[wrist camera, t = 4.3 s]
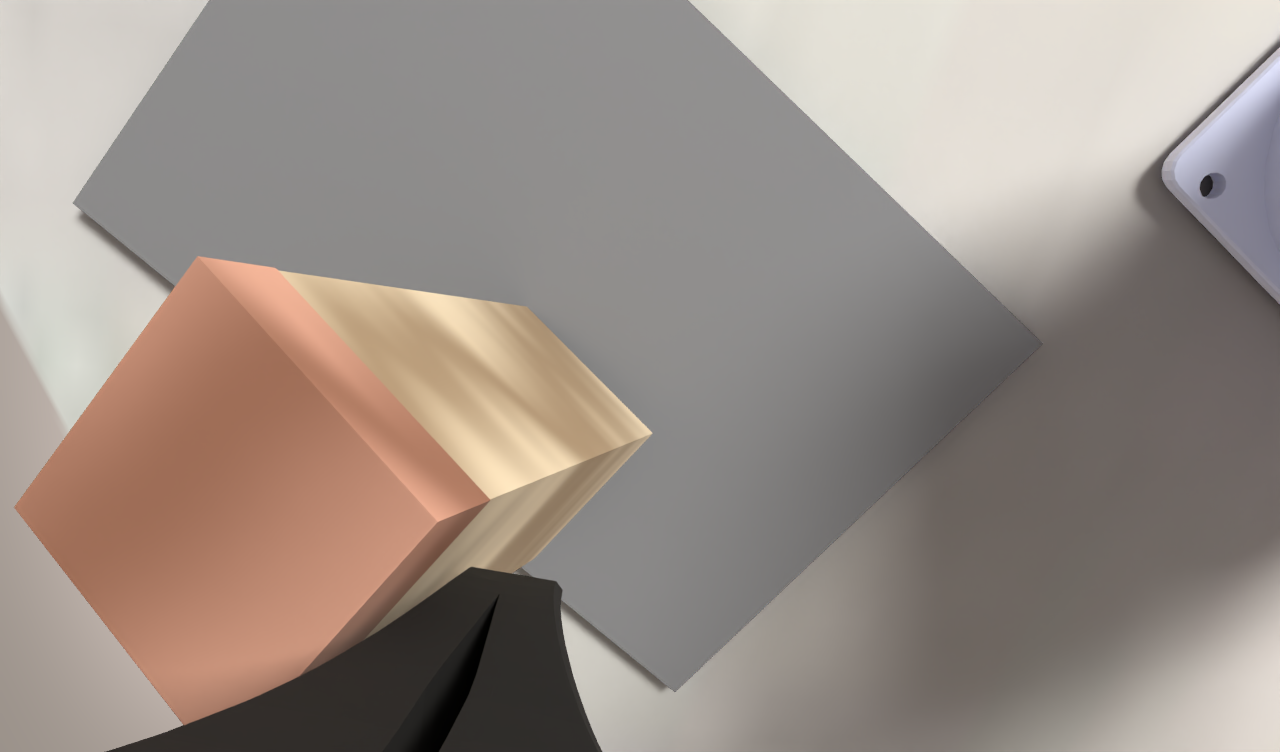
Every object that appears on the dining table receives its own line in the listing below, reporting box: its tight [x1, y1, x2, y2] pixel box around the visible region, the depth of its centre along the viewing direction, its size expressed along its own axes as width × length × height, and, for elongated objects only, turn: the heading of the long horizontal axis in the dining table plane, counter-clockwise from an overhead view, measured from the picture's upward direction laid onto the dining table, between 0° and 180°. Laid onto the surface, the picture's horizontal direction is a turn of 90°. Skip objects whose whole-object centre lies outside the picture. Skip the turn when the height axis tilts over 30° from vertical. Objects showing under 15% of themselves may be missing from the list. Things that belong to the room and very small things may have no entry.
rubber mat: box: [73, 0, 1043, 692], centre depth 17 cm, size 18×12×1 cm, turn 48°
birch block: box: [15, 256, 653, 725], centre depth 13 cm, size 4×4×9 cm
